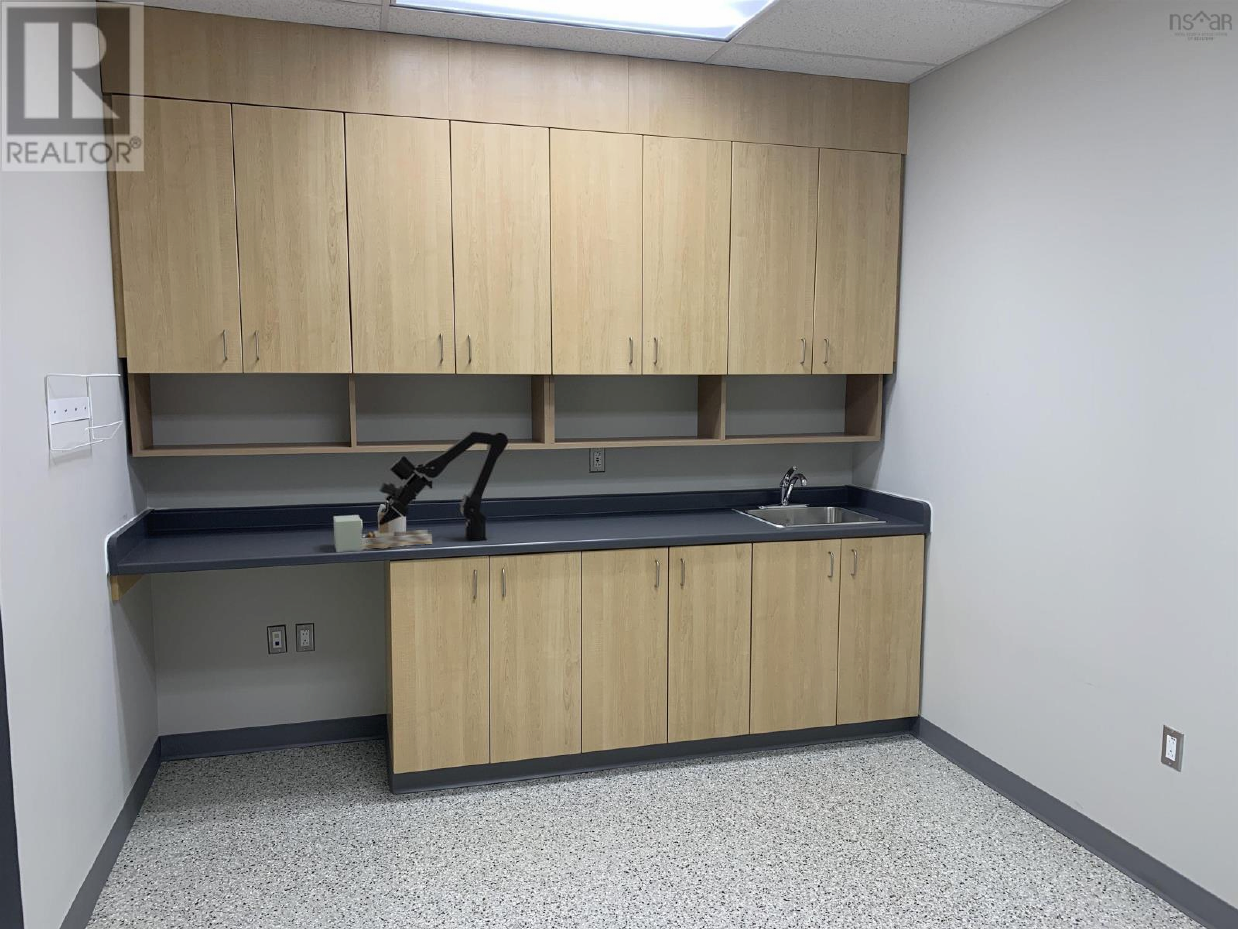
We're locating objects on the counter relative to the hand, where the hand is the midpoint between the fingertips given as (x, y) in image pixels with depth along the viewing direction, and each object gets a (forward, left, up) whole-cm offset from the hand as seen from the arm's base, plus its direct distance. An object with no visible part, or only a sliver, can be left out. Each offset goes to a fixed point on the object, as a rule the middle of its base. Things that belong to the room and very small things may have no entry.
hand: (379, 523), depth 282 cm
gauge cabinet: (+10, 0, -8) cm, 13 cm away
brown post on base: (-1, 0, -6) cm, 6 cm away
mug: (-7, -21, -8) cm, 23 cm away
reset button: (+5, 0, -6) cm, 8 cm away
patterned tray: (-5, 0, -8) cm, 9 cm away
